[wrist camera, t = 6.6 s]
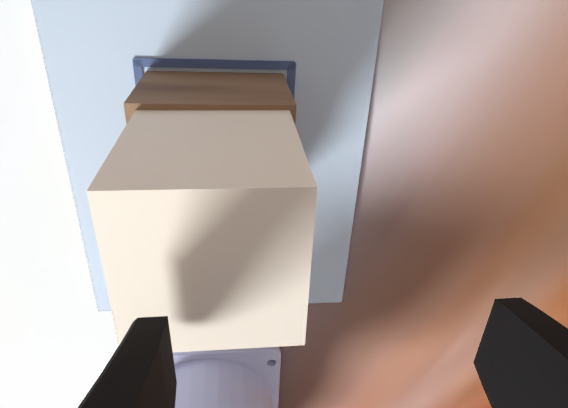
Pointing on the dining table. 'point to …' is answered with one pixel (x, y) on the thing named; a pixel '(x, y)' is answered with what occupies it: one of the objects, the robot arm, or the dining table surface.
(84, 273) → the dining table surface
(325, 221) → the board
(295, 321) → the ivory block
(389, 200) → the dining table surface
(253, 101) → the walnut base block
